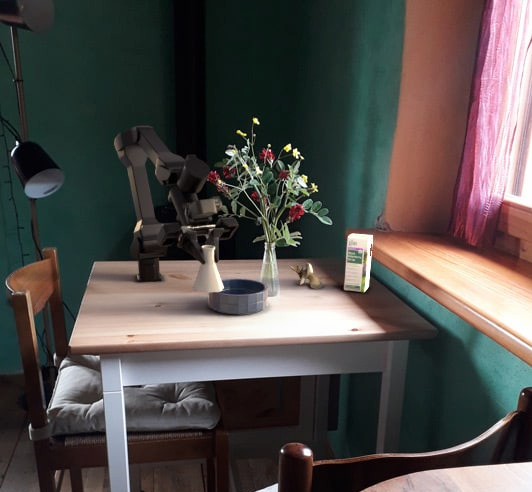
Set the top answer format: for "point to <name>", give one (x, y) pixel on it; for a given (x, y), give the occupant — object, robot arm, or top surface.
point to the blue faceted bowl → (239, 297)
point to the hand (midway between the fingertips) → (210, 262)
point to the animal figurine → (308, 276)
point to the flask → (208, 273)
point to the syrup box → (358, 262)
